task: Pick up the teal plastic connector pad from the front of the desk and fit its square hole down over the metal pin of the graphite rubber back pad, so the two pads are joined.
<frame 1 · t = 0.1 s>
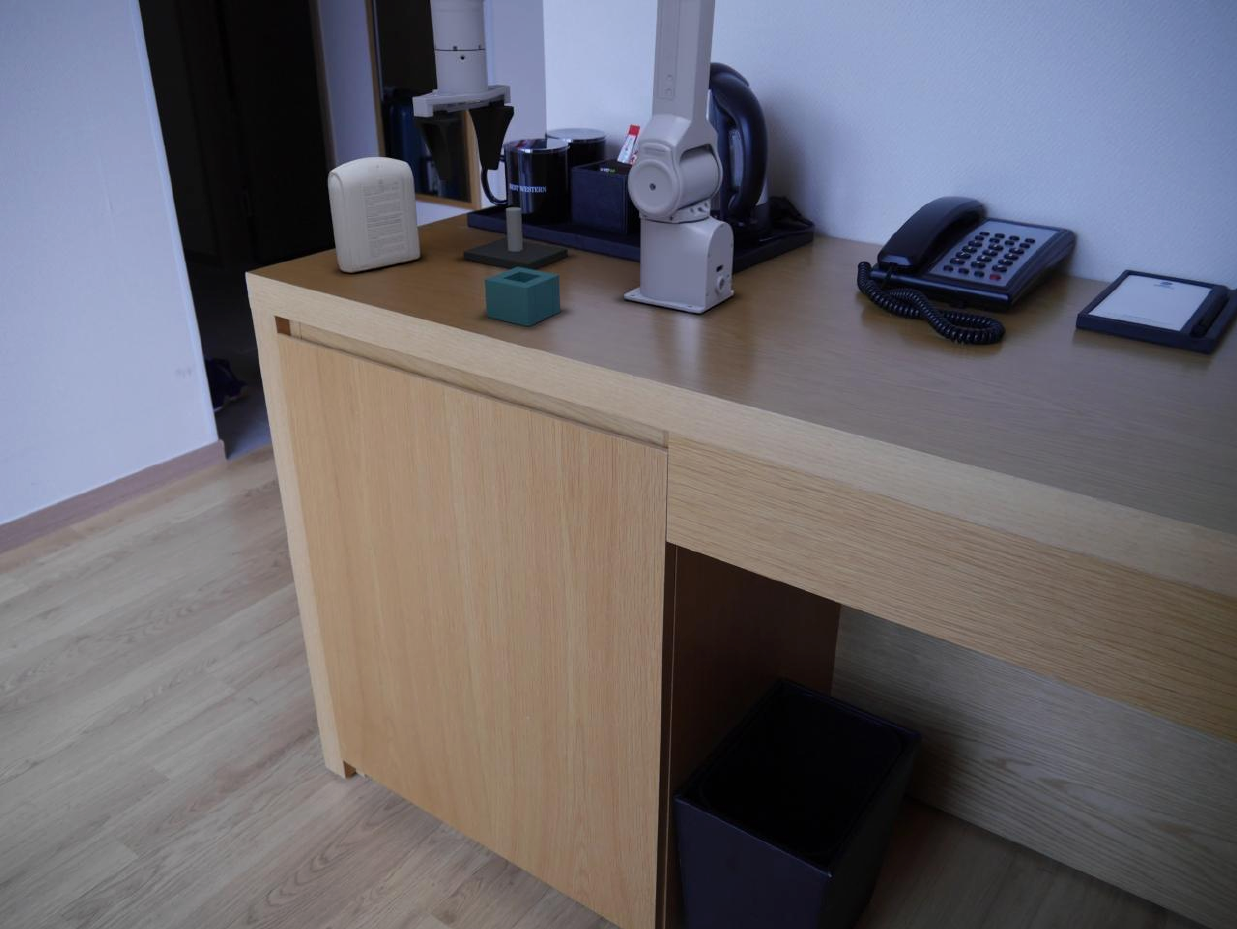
hand: (469, 174, 113), 10 cm above the table, tool pointing down, fingers open, 7 cm apart
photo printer: (380, 265, 116), on the table
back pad: (515, 258, 118), on the table
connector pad: (523, 314, 99), on the table
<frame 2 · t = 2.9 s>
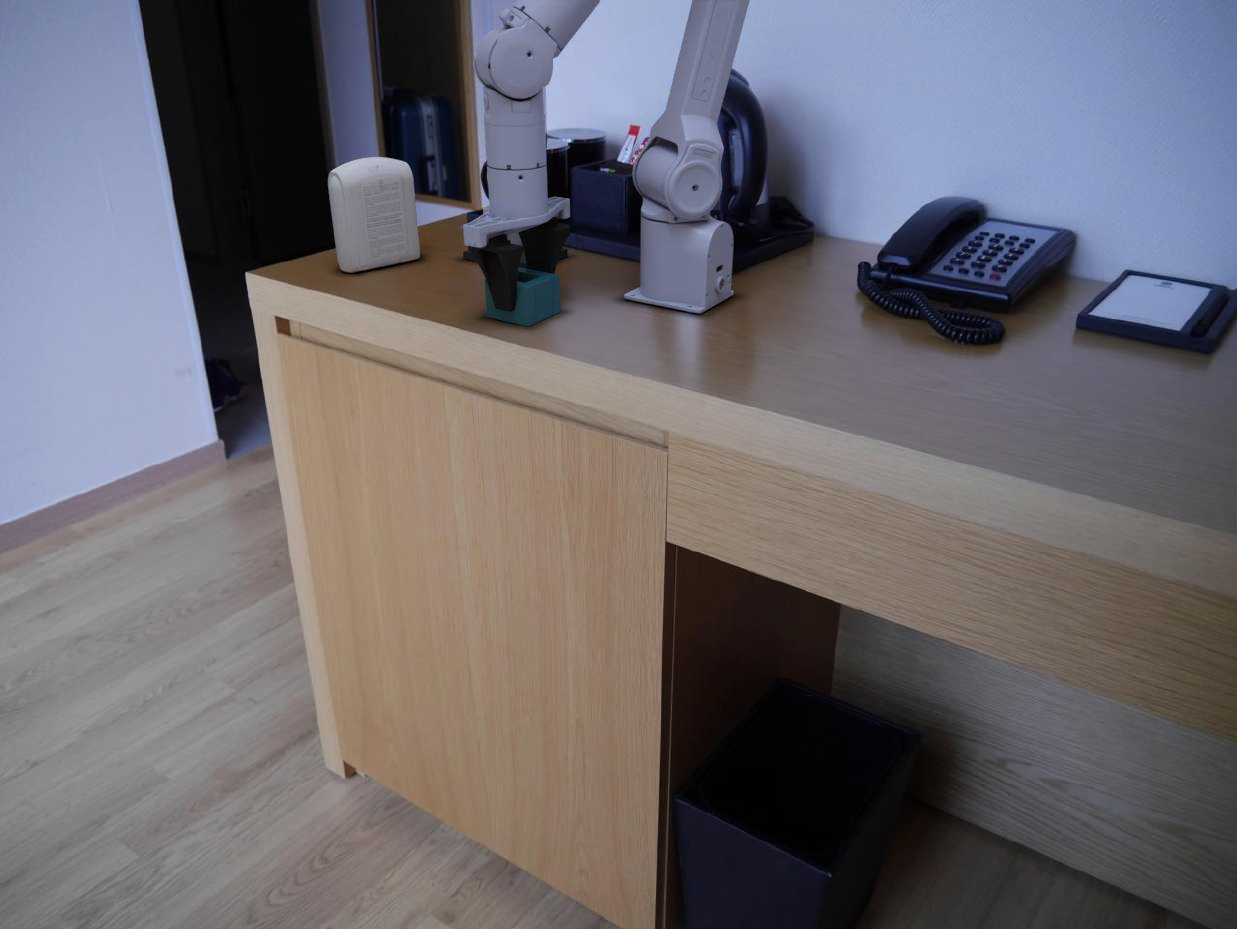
hand: (523, 301, 98), 1 cm above the table, tool pointing down, fingers closed on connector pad, 5 cm apart
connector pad: (523, 314, 99), on the table, touching gripper
everything else where it was.
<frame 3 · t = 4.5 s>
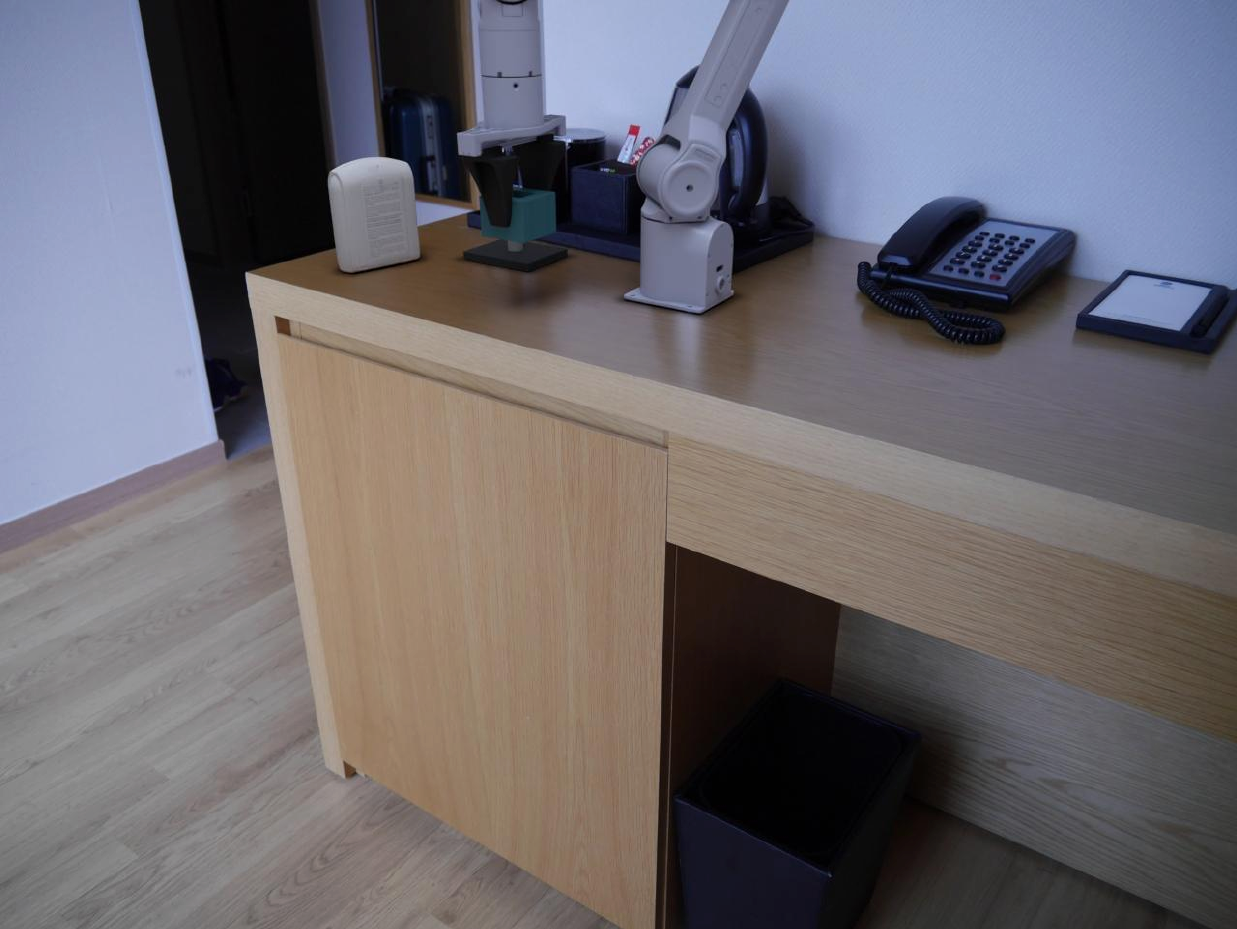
hand: (519, 219, 97), 9 cm above the table, tool pointing down, fingers closed on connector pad, 5 cm apart
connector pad: (519, 233, 97), point 8 cm above the table, touching gripper
everything else where it was.
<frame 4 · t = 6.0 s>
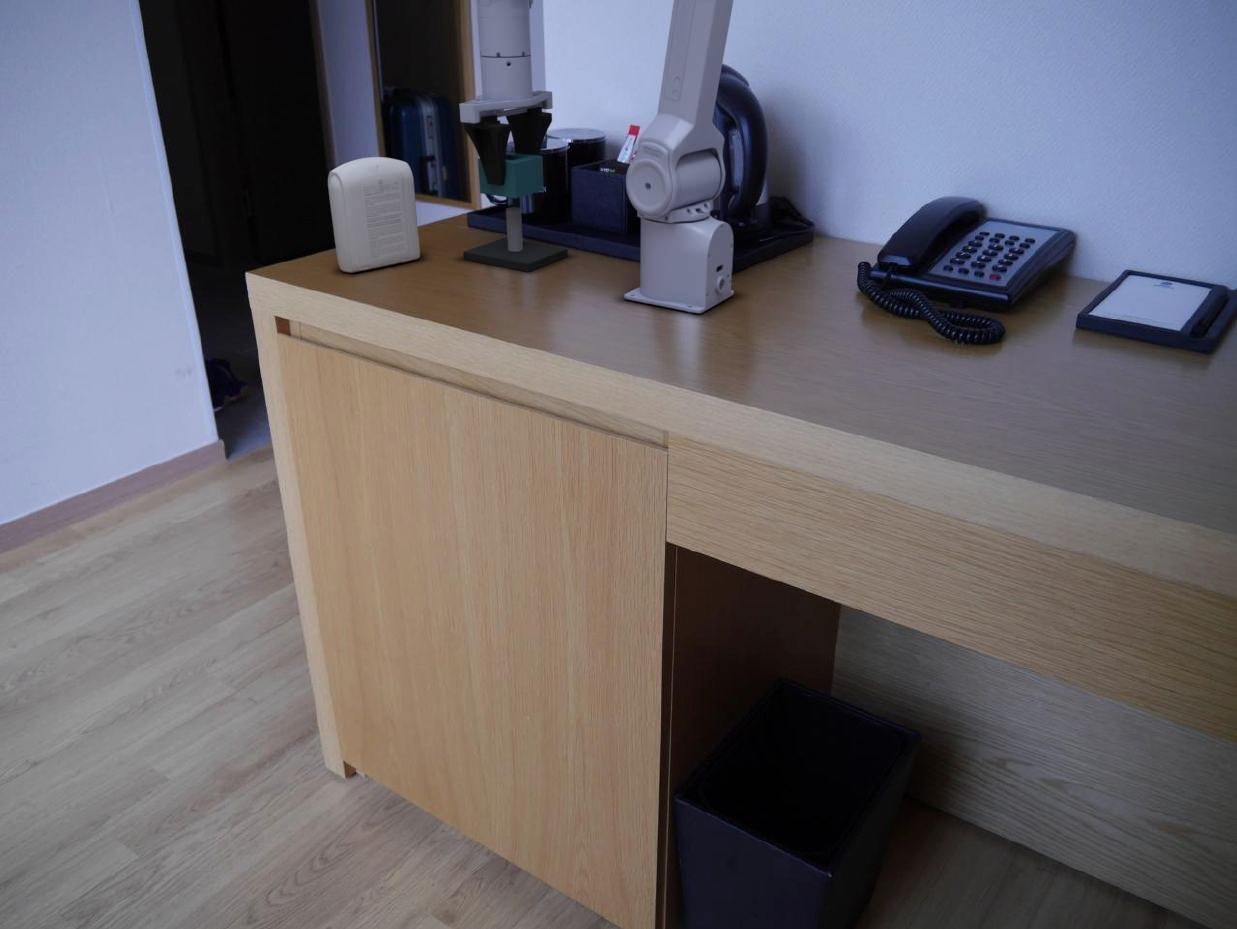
hand: (511, 179, 114), 9 cm above the table, tool pointing down, fingers closed on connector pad, 5 cm apart
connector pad: (511, 191, 114), point 8 cm above the table, touching gripper
everything else where it was.
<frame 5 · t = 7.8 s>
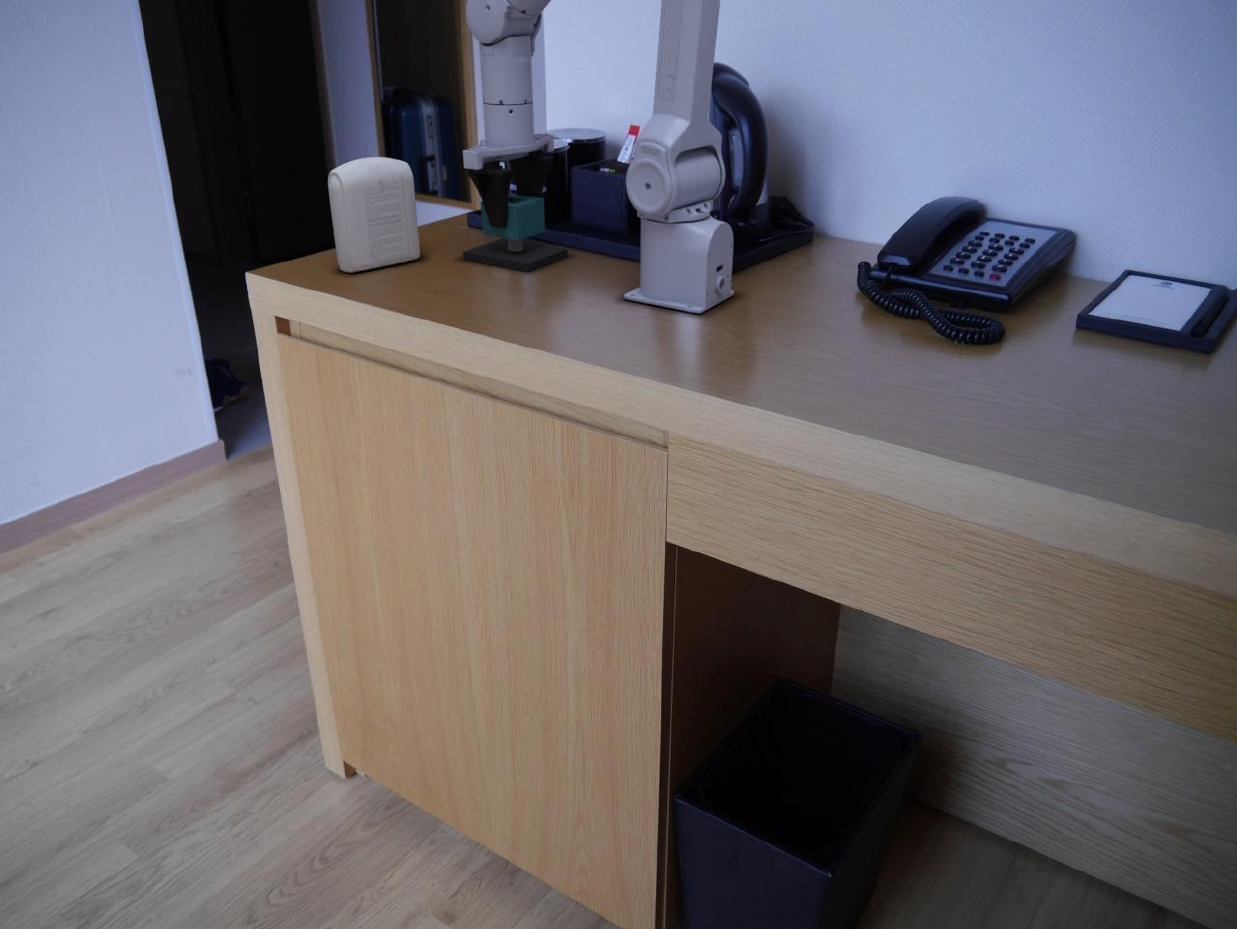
hand: (514, 221, 116), 4 cm above the table, tool pointing down, fingers closed on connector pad, 5 cm apart
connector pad: (514, 233, 117), point 3 cm above the table, touching gripper
everything else where it was.
when the fingers open (2 cm above the table, at t = 9.1 s): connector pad stays where it is, resting on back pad.
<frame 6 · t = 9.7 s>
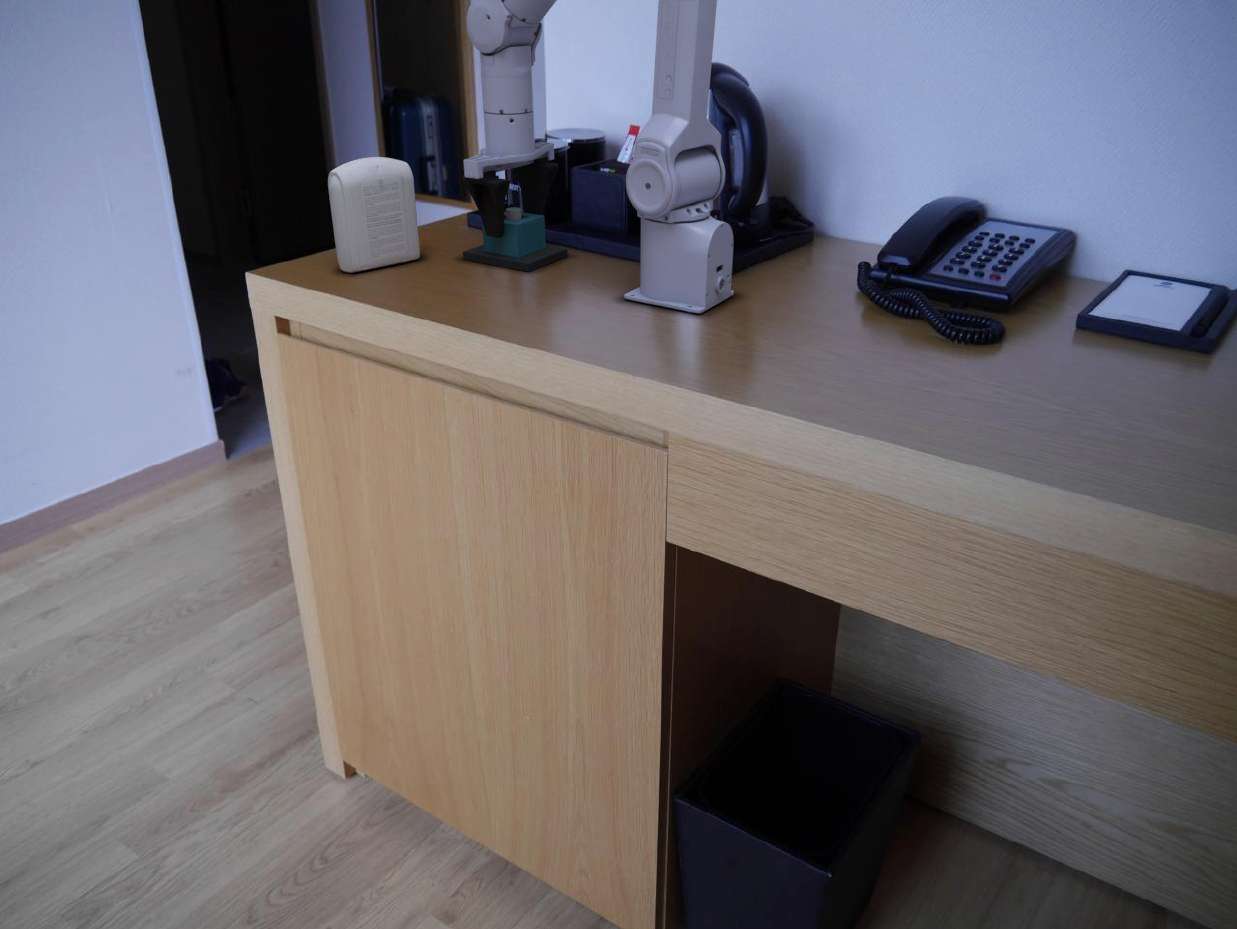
hand: (514, 229, 116), 3 cm above the table, tool pointing down, fingers open, 7 cm apart
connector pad: (514, 249, 118), point 1 cm above the table, touching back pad
everything else where it was.
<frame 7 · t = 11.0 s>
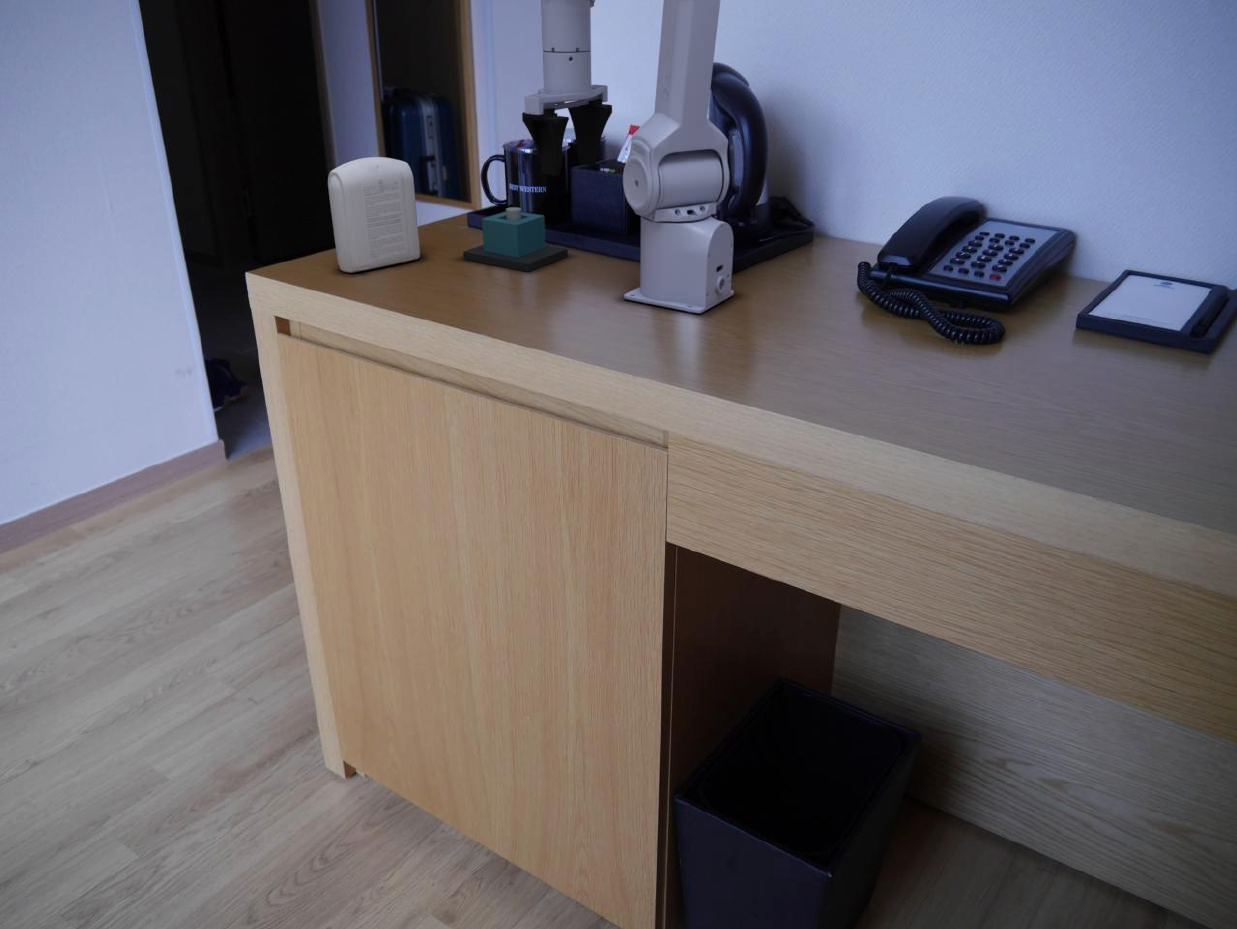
hand: (569, 169, 119), 9 cm above the table, tool pointing down, fingers open, 7 cm apart
nothing on the table moved.
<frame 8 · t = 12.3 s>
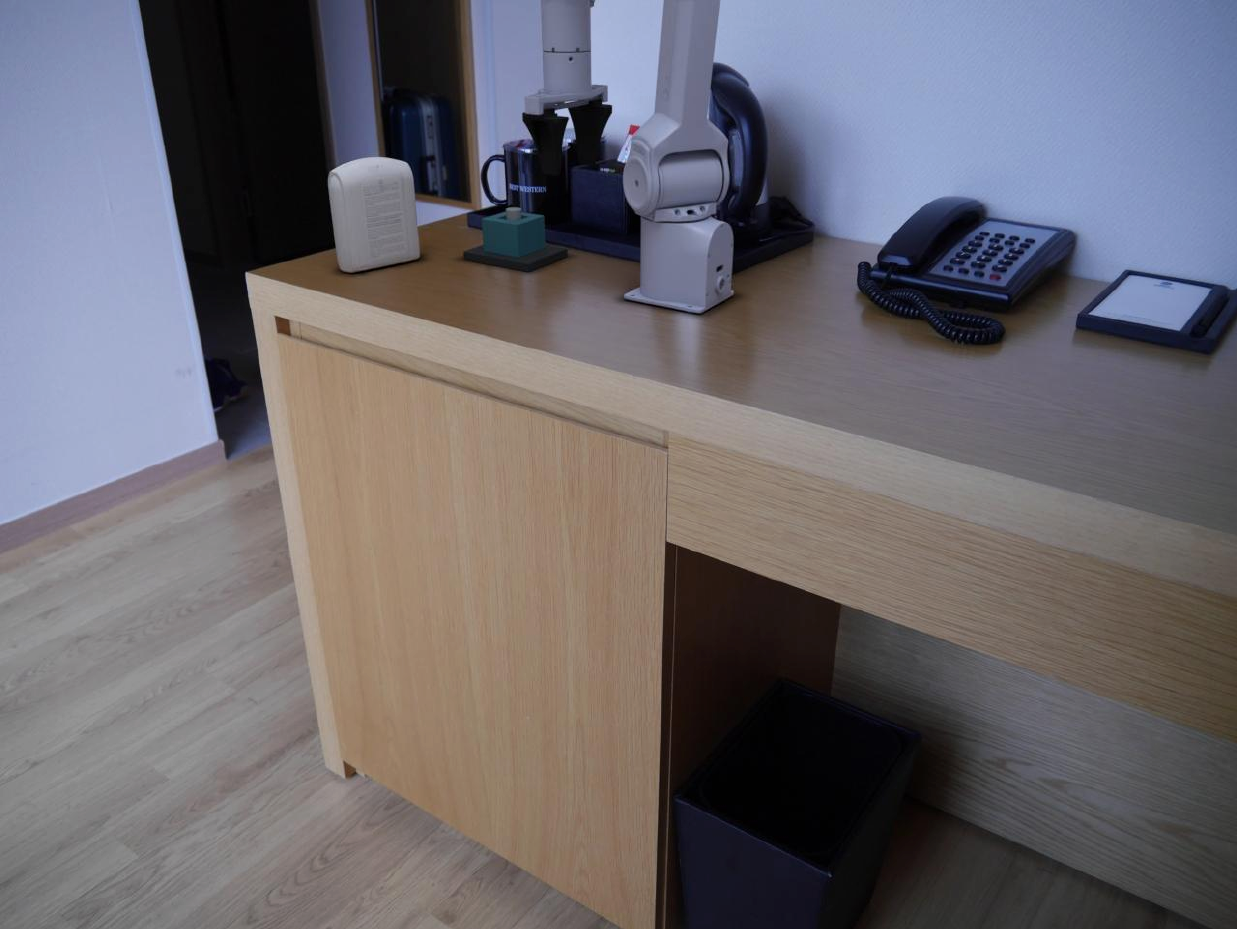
hand: (569, 169, 119), 9 cm above the table, tool pointing down, fingers open, 7 cm apart
nothing on the table moved.
at the end: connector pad 0.1 cm off-centre on the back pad, point 1.0 cm above the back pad's base; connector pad tilted 0°; the gripper is holding nothing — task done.
